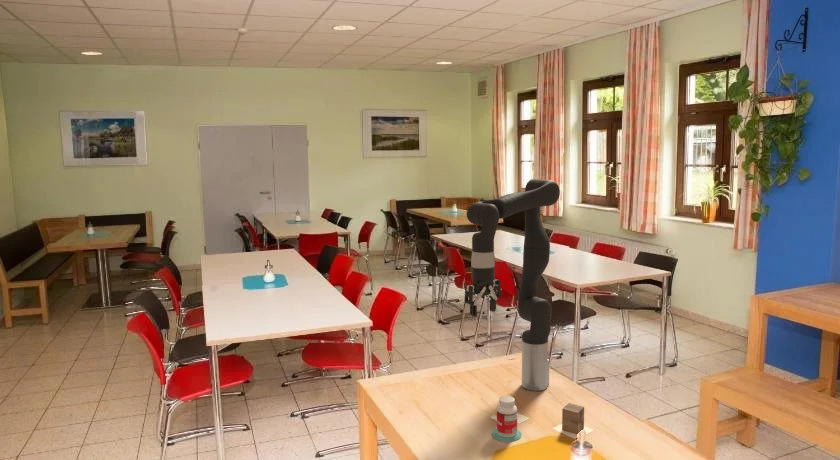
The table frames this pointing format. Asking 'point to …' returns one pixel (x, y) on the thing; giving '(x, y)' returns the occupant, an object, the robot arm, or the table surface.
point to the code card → (519, 418)
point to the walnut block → (573, 418)
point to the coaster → (500, 438)
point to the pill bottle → (506, 417)
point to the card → (559, 429)
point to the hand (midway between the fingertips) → (483, 313)
